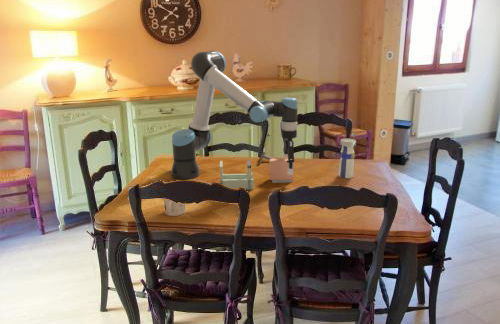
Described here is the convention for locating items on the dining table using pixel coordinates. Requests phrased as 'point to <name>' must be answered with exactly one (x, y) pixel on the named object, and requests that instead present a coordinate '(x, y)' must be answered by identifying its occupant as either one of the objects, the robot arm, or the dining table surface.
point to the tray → (282, 181)
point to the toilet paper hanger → (264, 156)
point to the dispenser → (237, 178)
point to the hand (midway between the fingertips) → (288, 170)
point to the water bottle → (347, 157)
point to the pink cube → (279, 169)
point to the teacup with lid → (174, 208)
